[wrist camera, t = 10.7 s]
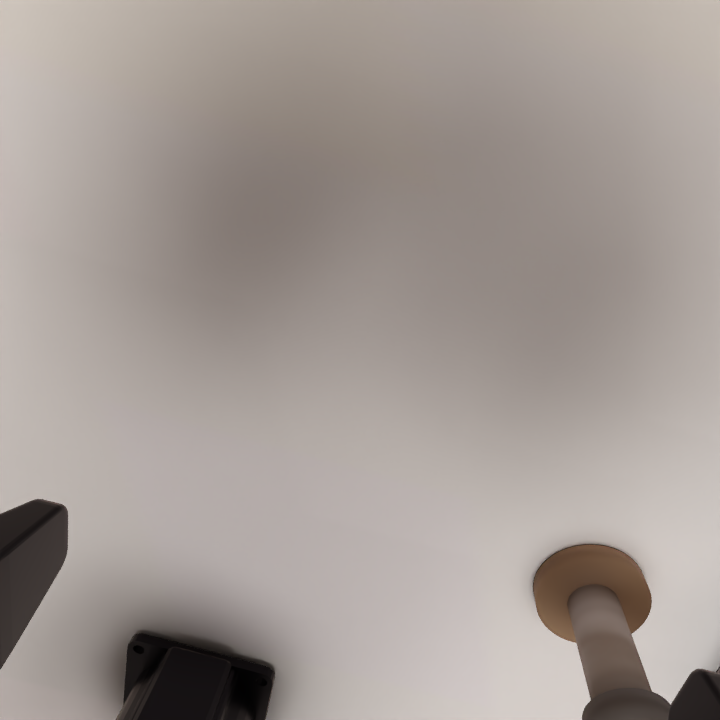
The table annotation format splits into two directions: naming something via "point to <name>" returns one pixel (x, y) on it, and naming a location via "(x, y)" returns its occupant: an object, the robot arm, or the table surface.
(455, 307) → the table surface
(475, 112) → the table surface
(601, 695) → the peg stand
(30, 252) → the table surface
